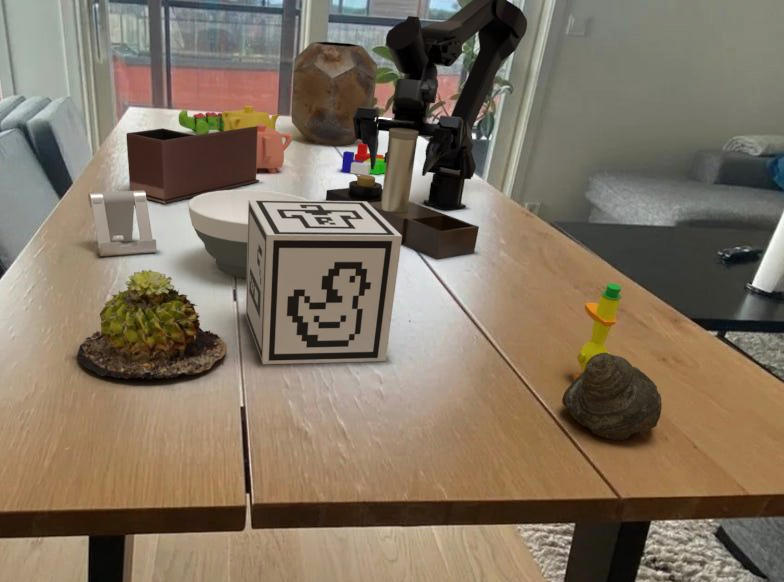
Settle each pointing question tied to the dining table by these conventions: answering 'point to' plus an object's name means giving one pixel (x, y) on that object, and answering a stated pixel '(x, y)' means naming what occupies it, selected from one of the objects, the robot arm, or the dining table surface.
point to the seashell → (613, 398)
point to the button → (366, 180)
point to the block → (320, 280)
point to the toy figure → (600, 323)
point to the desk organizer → (190, 162)
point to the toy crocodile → (202, 122)
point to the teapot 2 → (270, 148)
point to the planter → (331, 91)
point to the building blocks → (362, 162)
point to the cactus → (150, 333)
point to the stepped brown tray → (431, 231)
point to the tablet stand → (121, 221)
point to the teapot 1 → (247, 119)
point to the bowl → (228, 225)
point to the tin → (399, 169)
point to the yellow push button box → (356, 193)
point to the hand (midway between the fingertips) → (397, 171)
